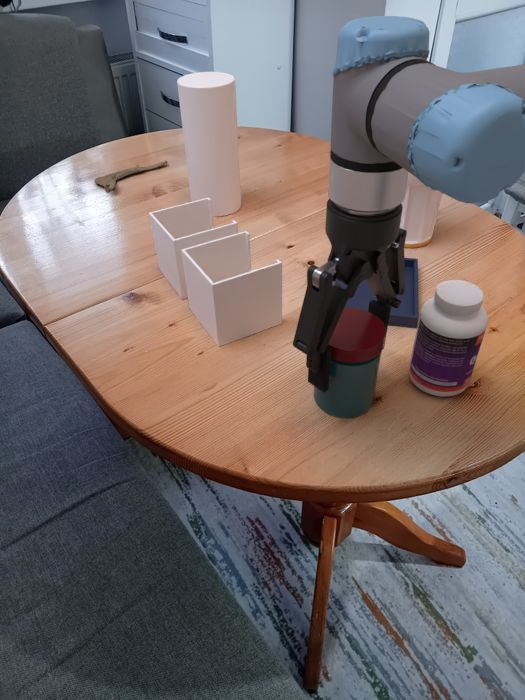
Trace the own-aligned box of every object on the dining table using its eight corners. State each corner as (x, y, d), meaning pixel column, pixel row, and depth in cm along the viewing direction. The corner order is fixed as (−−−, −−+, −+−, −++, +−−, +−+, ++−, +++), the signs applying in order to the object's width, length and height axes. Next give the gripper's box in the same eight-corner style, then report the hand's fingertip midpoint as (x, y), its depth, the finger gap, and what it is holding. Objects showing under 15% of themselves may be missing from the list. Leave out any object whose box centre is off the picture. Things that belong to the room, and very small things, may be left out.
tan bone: (84, 191, 124) (81, 182, 122) (142, 161, 137) (140, 153, 136) (113, 195, 119) (110, 186, 118) (170, 165, 133) (168, 156, 132)
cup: (400, 216, 110) (414, 129, 98) (449, 236, 103) (469, 145, 92) (365, 236, 104) (375, 145, 92) (413, 257, 97) (431, 163, 86)
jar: (372, 422, 68) (382, 360, 61) (309, 413, 69) (312, 351, 62) (375, 379, 74) (385, 317, 67) (317, 371, 75) (321, 311, 68)
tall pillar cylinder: (242, 194, 119) (236, 70, 103) (239, 216, 111) (232, 86, 95) (195, 194, 120) (181, 71, 103) (188, 217, 112) (172, 87, 95)
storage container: (158, 269, 97) (148, 212, 89) (213, 252, 100) (208, 197, 93) (218, 346, 80) (212, 285, 73) (282, 323, 84) (282, 262, 77)
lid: (318, 364, 62) (319, 352, 61) (311, 320, 68) (312, 308, 67) (390, 361, 62) (392, 349, 61) (377, 318, 68) (378, 306, 67)
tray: (416, 328, 82) (418, 317, 81) (317, 317, 85) (318, 307, 83) (415, 268, 95) (417, 258, 93) (329, 260, 97) (330, 251, 96)
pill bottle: (471, 403, 70) (501, 315, 61) (408, 397, 71) (428, 309, 62) (464, 362, 76) (490, 276, 67) (406, 357, 77) (423, 271, 68)
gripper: (402, 158, 61) (379, 313, 76) (255, 225, 50) (261, 394, 64) (460, 176, 57) (424, 338, 72) (314, 255, 46) (306, 428, 60)
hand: (347, 364), depth 68 cm, fingers open, 10 cm apart
